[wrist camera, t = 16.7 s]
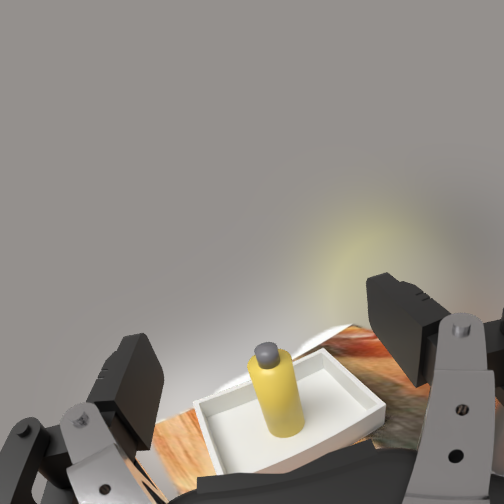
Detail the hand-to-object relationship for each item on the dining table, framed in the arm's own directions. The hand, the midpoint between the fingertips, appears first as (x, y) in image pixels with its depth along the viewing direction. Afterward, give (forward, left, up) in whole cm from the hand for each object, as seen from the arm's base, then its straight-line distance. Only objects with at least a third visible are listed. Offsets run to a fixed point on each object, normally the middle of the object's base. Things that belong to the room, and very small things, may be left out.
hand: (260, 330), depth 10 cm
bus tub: (-5, -19, -30) cm, 36 cm away
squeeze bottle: (-5, -19, -29) cm, 35 cm away
